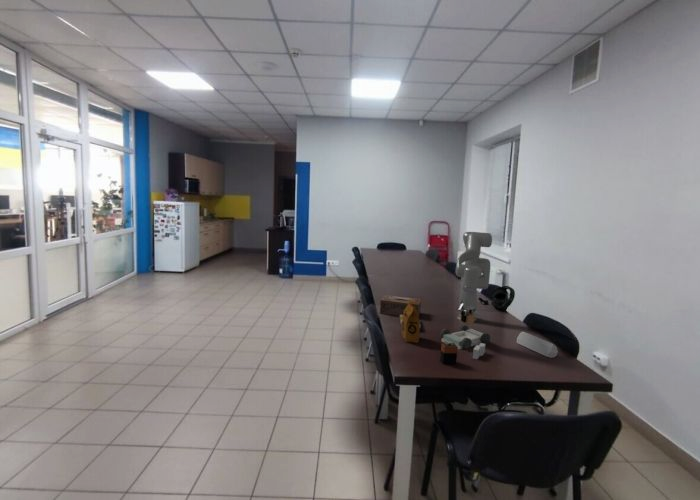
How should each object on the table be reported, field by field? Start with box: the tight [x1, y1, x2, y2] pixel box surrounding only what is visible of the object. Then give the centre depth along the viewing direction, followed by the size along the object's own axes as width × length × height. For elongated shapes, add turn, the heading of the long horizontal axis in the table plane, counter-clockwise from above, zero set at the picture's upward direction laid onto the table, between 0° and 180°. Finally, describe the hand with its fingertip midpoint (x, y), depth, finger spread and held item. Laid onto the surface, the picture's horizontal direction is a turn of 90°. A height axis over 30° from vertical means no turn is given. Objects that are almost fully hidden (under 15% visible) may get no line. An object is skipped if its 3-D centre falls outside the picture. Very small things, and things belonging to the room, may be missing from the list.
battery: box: [439, 342, 459, 365], centre depth 184 cm, size 4×7×10 cm, turn 98°
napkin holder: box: [472, 343, 486, 360], centre depth 195 cm, size 15×11×6 cm
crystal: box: [516, 331, 559, 359], centre depth 206 cm, size 7×7×24 cm
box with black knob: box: [459, 312, 474, 326], centre depth 211 cm, size 6×4×6 cm
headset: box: [477, 285, 516, 311], centre depth 284 cm, size 18×14×29 cm
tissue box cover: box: [379, 294, 422, 317], centre depth 261 cm, size 26×14×10 cm, turn 73°
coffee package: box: [401, 299, 421, 344], centre depth 212 cm, size 10×12×22 cm
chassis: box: [439, 324, 491, 351], centre depth 213 cm, size 24×17×6 cm
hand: (466, 320), depth 212 cm, fingers closed on box with black knob, 4 cm apart
